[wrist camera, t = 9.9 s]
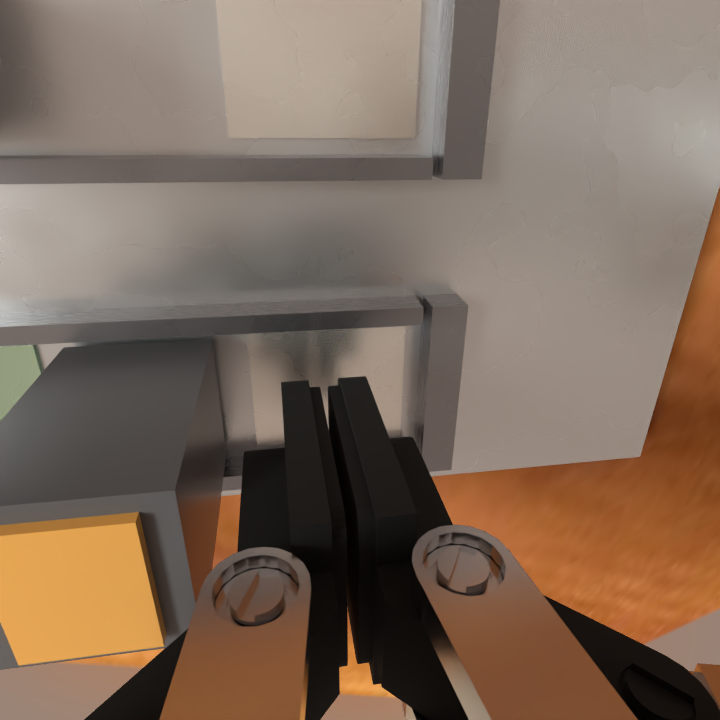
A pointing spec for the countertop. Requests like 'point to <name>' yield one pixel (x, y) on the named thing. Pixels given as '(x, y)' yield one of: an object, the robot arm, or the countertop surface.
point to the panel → (367, 206)
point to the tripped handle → (108, 501)
